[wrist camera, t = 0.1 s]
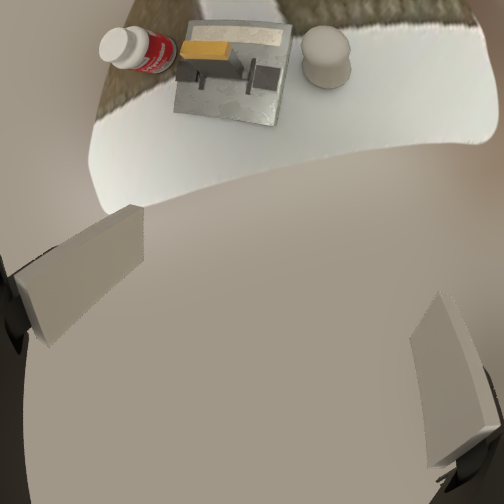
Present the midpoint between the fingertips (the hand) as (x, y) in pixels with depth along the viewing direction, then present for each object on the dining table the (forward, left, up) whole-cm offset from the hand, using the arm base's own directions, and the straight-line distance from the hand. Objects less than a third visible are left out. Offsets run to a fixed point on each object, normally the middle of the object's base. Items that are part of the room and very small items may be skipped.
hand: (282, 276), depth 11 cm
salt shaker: (-13, -1, -28) cm, 31 cm away
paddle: (-10, -13, -25) cm, 30 cm away
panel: (-11, -13, -28) cm, 33 cm away
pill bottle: (-13, -25, -28) cm, 40 cm away
